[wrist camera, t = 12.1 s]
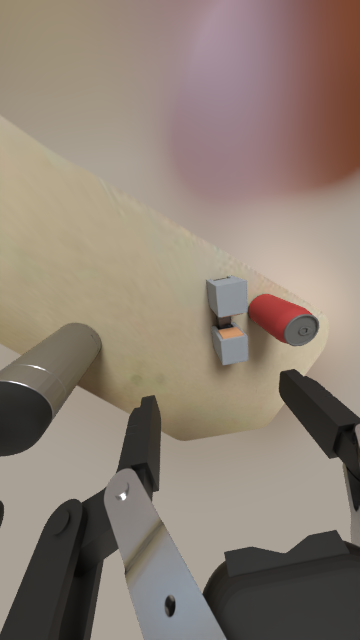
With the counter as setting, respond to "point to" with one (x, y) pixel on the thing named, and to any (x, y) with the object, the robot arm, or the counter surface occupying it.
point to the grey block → (230, 344)
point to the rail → (223, 320)
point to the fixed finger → (227, 296)
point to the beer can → (284, 319)
